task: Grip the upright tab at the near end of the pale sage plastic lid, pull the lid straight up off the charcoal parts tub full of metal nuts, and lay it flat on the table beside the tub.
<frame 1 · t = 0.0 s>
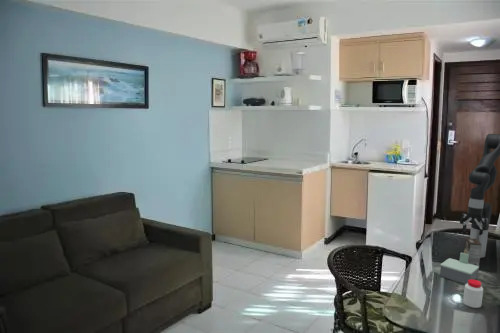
hand: (472, 233, 245), 17 cm above the table, tool pointing down, fingers open, 8 cm apart
coffee box: (470, 268, 239), on the table
pill bottle: (472, 304, 199), on the table
snap lid: (459, 268, 226), point 5 cm above the table, touching parts tub
parts tub: (458, 277, 227), on the table
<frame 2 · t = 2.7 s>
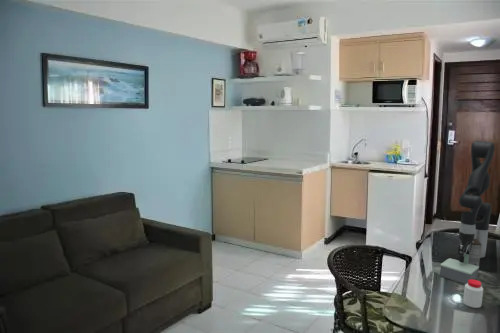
hand: (463, 260, 229), 8 cm above the table, tool pointing down, fingers open, 6 cm apart
nothing on the table moved.
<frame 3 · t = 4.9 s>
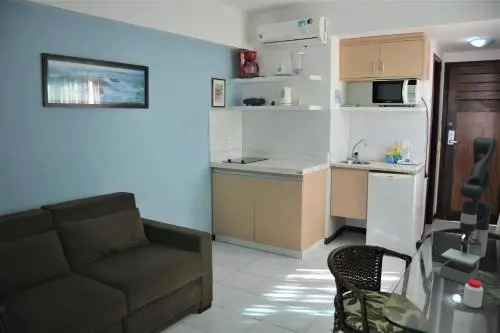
hand: (464, 251, 228), 13 cm above the table, tool pointing down, fingers closed on snap lid
snap lid: (460, 258, 225), point 11 cm above the table, touching gripper
everything else where it was.
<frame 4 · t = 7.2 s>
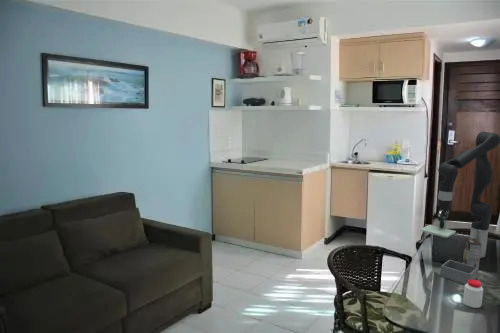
hand: (442, 227, 245), 21 cm above the table, tool pointing down, fingers closed on snap lid
snap lid: (437, 232, 241), point 18 cm above the table, touching gripper
everything else where it was.
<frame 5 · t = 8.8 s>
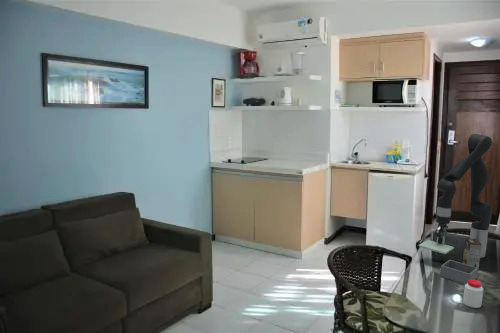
hand: (440, 242, 246), 11 cm above the table, tool pointing down, fingers closed on snap lid
snap lid: (436, 248, 243), point 9 cm above the table, touching gripper
everything else where it was.
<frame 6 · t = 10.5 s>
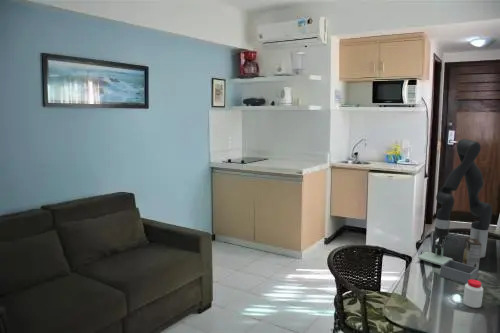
hand: (439, 254, 248), 4 cm above the table, tool pointing down, fingers closed on snap lid
snap lid: (434, 260, 244), point 2 cm above the table, touching gripper
everything else where it was.
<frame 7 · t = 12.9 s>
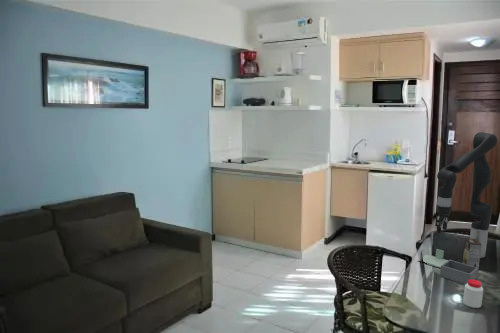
hand: (441, 231, 245), 18 cm above the table, tool pointing down, fingers open, 8 cm apart
snap lid: (435, 263, 245), on the table
everything else where it was.
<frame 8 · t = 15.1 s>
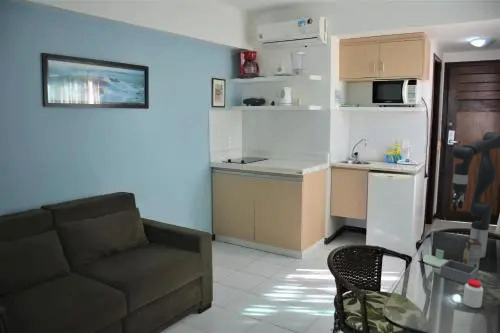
hand: (457, 209, 239), 32 cm above the table, tool pointing down, fingers open, 8 cm apart
nothing on the table moved.
at the end: snap lid inside the target area (1.1 cm from its centre), on the table; snap lid tilted 0°; the gripper is holding nothing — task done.
